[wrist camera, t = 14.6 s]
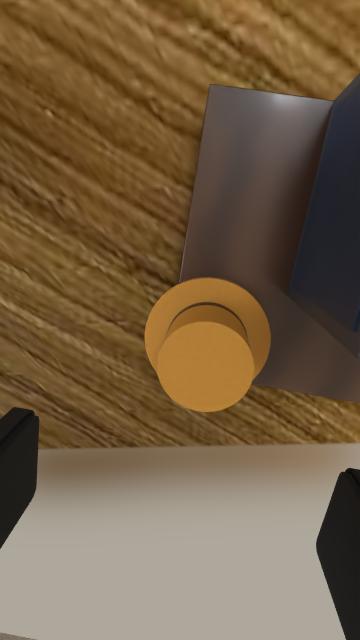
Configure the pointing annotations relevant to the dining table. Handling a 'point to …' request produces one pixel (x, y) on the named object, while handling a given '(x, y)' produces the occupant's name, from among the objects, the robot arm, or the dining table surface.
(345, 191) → the dark grey block
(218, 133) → the brown flat slab
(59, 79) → the dining table surface
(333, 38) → the dining table surface
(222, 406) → the hat
